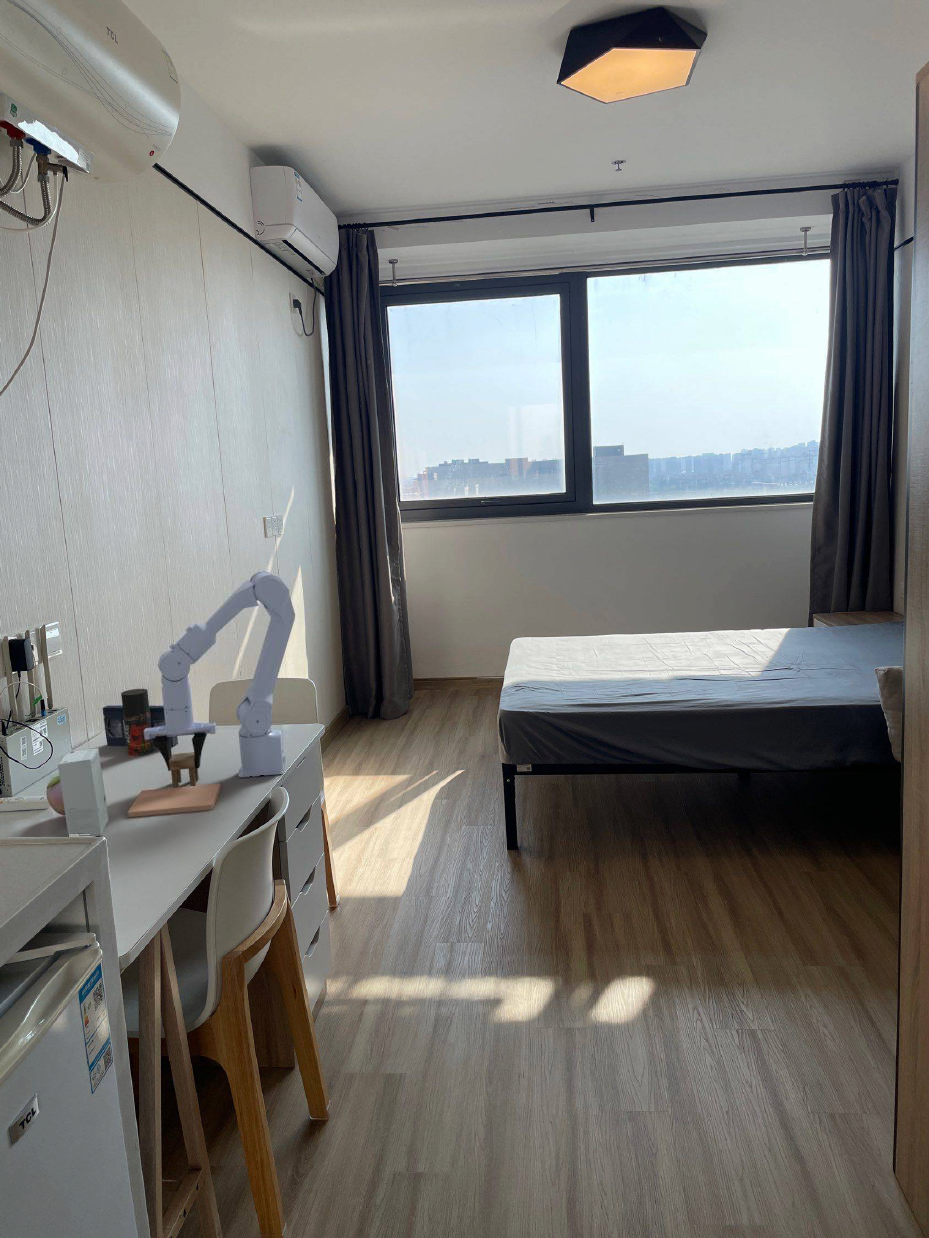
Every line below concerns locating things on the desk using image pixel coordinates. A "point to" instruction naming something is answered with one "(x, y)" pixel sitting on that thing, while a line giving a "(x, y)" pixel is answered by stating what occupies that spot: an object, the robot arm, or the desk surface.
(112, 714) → the vhs cassette tape
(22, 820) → the desk surface
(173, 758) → the stool
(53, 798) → the decorative fruit
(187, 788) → the mat
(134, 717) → the deodorant
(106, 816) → the skincare box
